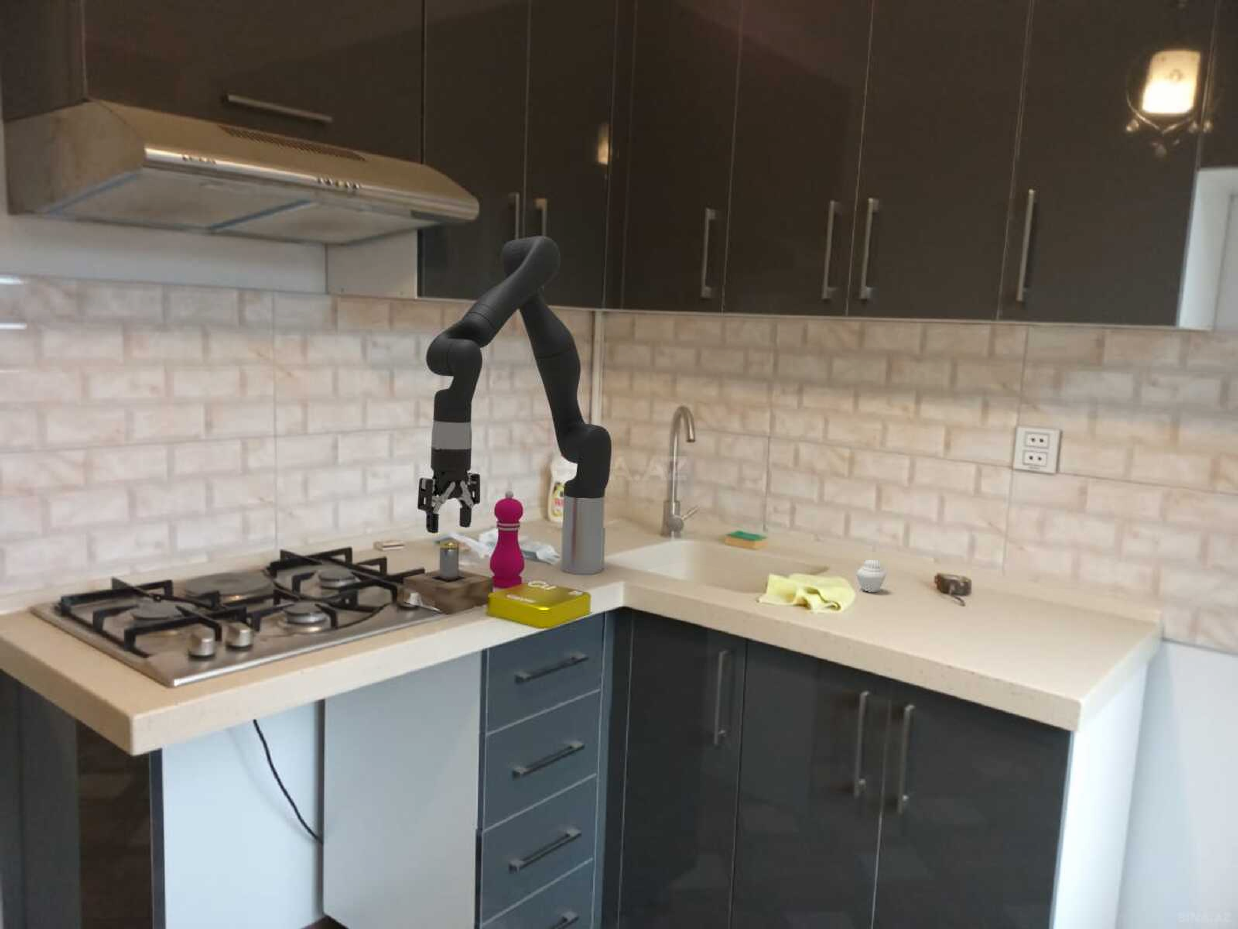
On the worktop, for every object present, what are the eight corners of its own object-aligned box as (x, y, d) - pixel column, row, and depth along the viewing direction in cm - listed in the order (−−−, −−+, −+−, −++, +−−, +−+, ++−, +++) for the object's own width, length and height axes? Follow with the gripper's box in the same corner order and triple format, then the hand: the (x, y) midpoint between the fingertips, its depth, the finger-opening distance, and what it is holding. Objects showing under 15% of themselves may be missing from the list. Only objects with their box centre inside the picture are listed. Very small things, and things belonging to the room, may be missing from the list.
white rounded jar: (879, 587, 210) (881, 556, 209) (888, 594, 203) (891, 562, 203) (851, 586, 209) (854, 555, 208) (860, 593, 203) (862, 562, 202)
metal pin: (448, 599, 184) (449, 539, 183) (461, 603, 182) (463, 542, 181) (434, 603, 181) (435, 542, 180) (448, 607, 179) (449, 545, 178)
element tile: (482, 617, 175) (482, 592, 175) (532, 600, 188) (533, 577, 187) (546, 633, 167) (546, 607, 166) (594, 615, 179) (595, 590, 179)
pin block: (448, 591, 190) (448, 567, 189) (492, 603, 183) (493, 577, 183) (403, 603, 180) (403, 578, 179) (448, 616, 173) (448, 589, 173)
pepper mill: (482, 586, 195) (484, 490, 193) (502, 579, 202) (504, 487, 199) (511, 591, 192) (514, 494, 190) (530, 584, 198) (533, 490, 196)
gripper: (463, 441, 186) (461, 522, 188) (409, 445, 174) (407, 531, 176) (492, 445, 182) (488, 528, 184) (438, 449, 170) (435, 537, 172)
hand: (448, 529), depth 180 cm, fingers open, 8 cm apart
